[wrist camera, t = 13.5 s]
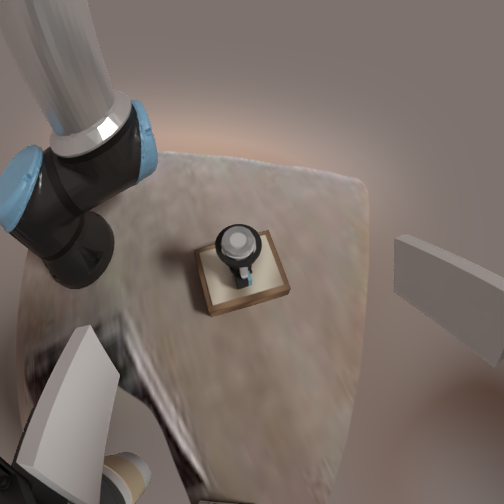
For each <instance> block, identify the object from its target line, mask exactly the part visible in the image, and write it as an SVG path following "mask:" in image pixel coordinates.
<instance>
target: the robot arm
mask: <svg viewBox="0 0 504 504" xmlns="http://www.w3.org/2000/svg"><path fill="white" fill-rule="evenodd" d="M0 31H1V33H2V36H3V38H4V40H5V43H6V45H7V47H8V49H9V51H10V53H11V55H12V58H13V60H14V62H15V64H16V66H17V68H18V70H19V71H20V73H21V75H22V77H23V79H24V81H25V83H26V85H27V86H28V88H29V90H30V92H31V94H32V95H33V97H34V99H35V101H36V102H37V104H38V106H39V107H40V109H41V111H42V112H43V114H44V116H45V117H46V119H47V121H48V122H49V124H50V125H51V127H52V133H51V136H50V147H49V148H47V149H46V150H44V151H42V148H41V147H39V146H37V145H31V146H28V147H26V148H25V149H23V150H22V151H21V152H19V153H18V154H17V155H16V156H15V157H14V158H13V159H12V160H11V162H10V163H9V164H8V165H7V167H6V168H5V170H4V172H3V173H2V175H1V177H0V225H1V226H2V227H3V228H4V230H5V231H6V232H8V233H10V234H11V235H12V236H13V237H14V238H16V239H17V240H18V241H19V242H21V243H22V244H23V245H24V246H26V247H27V248H28V249H29V250H31V251H32V252H33V253H35V254H36V255H37V256H39V257H40V258H41V259H42V260H43V262H44V264H45V265H46V267H47V268H48V270H49V272H50V273H51V275H52V277H53V278H54V279H55V280H56V281H57V282H59V283H60V284H62V285H63V286H65V287H67V288H70V289H80V288H84V287H86V286H88V285H90V284H92V283H93V282H94V281H96V280H97V279H98V278H99V277H100V276H101V275H102V273H103V272H104V271H105V269H106V268H107V266H108V264H109V262H110V260H111V257H112V254H113V250H114V235H113V231H112V229H111V227H110V226H109V224H108V223H107V222H106V220H105V219H104V218H103V217H102V216H100V215H99V214H97V213H94V212H91V211H89V210H90V209H92V208H94V207H95V206H97V205H99V204H100V203H102V202H104V201H106V200H108V199H109V198H111V197H113V196H115V195H117V194H118V193H120V192H122V191H124V190H126V189H128V188H130V187H132V186H134V185H136V184H138V183H139V181H141V180H143V179H144V178H146V177H148V176H149V175H151V174H152V173H153V172H154V171H155V169H156V167H157V163H158V155H157V149H156V143H155V139H154V135H153V133H152V130H151V125H150V121H149V118H148V115H147V113H146V111H145V108H144V106H143V105H142V103H141V102H140V101H138V100H130V98H129V97H128V96H127V95H126V94H125V93H124V92H121V91H118V90H113V87H112V84H111V81H110V78H109V75H108V72H107V69H106V66H105V63H104V60H103V57H102V53H101V50H100V47H99V44H98V40H97V36H96V33H95V30H94V26H93V22H92V18H91V14H90V11H89V7H88V2H87V0H0ZM394 249H395V251H394V254H395V257H394V258H395V259H394V262H395V263H394V264H395V265H394V293H396V294H397V295H399V296H400V297H402V298H403V299H404V300H406V301H407V302H409V303H410V304H411V305H413V306H414V307H416V308H417V309H418V310H420V311H421V312H423V313H424V314H425V315H427V316H428V317H429V318H431V319H432V320H434V321H435V322H436V323H438V324H439V325H440V326H442V327H443V328H444V329H446V330H447V331H448V332H449V333H451V334H452V335H454V336H455V337H456V338H458V339H459V340H460V341H461V342H463V343H464V344H465V345H467V346H468V347H469V348H470V349H472V350H473V351H474V352H475V353H477V354H478V355H479V356H480V357H482V358H483V359H484V360H485V361H487V362H488V363H489V364H490V365H491V366H493V367H494V368H496V367H497V366H498V364H499V363H500V362H501V361H502V360H503V359H504V278H503V277H501V276H499V275H497V274H495V273H493V272H491V271H489V270H487V269H485V268H483V267H481V266H478V265H477V264H474V263H472V262H470V261H468V260H466V259H464V258H462V257H459V256H457V255H455V254H453V253H450V252H448V251H446V250H444V249H441V248H439V247H437V246H434V245H432V244H430V243H427V242H425V241H423V240H420V239H418V238H415V237H413V236H410V235H408V234H404V235H401V236H399V237H396V238H394ZM119 377H120V374H119V373H118V371H117V370H116V368H115V367H114V365H113V363H112V362H111V360H110V359H109V357H108V355H107V354H106V352H105V350H104V349H103V347H102V345H101V343H100V342H99V340H98V338H97V336H96V334H95V333H94V331H93V329H92V327H91V325H87V326H82V327H78V328H76V329H75V331H74V332H73V334H72V336H71V338H70V339H69V341H68V343H67V345H66V347H65V348H64V350H63V352H62V354H61V356H60V358H59V360H58V362H57V364H56V366H55V368H54V370H53V372H52V374H51V376H50V378H49V380H48V382H47V384H46V386H45V388H44V390H43V393H42V395H41V397H40V399H39V401H38V403H37V404H36V405H35V406H34V408H33V409H32V411H31V413H30V415H29V418H28V420H27V422H28V423H26V425H25V428H24V432H23V433H22V436H21V438H20V441H19V444H18V447H17V450H16V453H15V456H14V459H13V462H12V465H11V466H10V465H9V464H8V463H7V462H6V461H5V460H3V459H2V458H1V457H0V504H67V503H68V500H69V501H71V502H73V503H75V504H99V502H100V489H101V479H102V470H103V462H104V454H105V448H106V441H107V435H108V429H109V423H110V418H111V413H112V408H113V403H114V399H115V394H116V390H117V385H118V381H119Z"/></svg>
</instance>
